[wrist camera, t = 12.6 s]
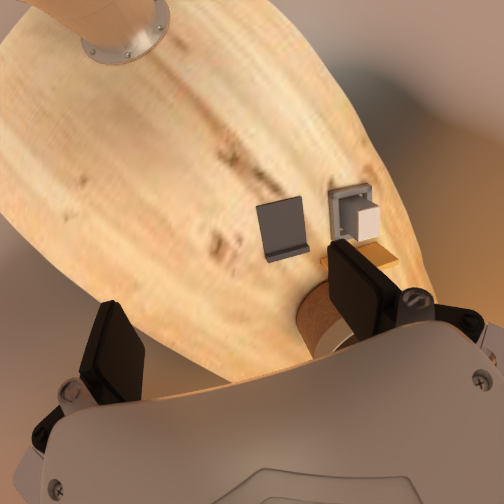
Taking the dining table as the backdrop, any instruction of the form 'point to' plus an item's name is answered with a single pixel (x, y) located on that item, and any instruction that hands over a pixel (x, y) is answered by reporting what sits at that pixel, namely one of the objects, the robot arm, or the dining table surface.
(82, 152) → the dining table surface
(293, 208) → the dark grey lipped plate
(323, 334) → the planter
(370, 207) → the plug
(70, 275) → the dining table surface
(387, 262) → the port
